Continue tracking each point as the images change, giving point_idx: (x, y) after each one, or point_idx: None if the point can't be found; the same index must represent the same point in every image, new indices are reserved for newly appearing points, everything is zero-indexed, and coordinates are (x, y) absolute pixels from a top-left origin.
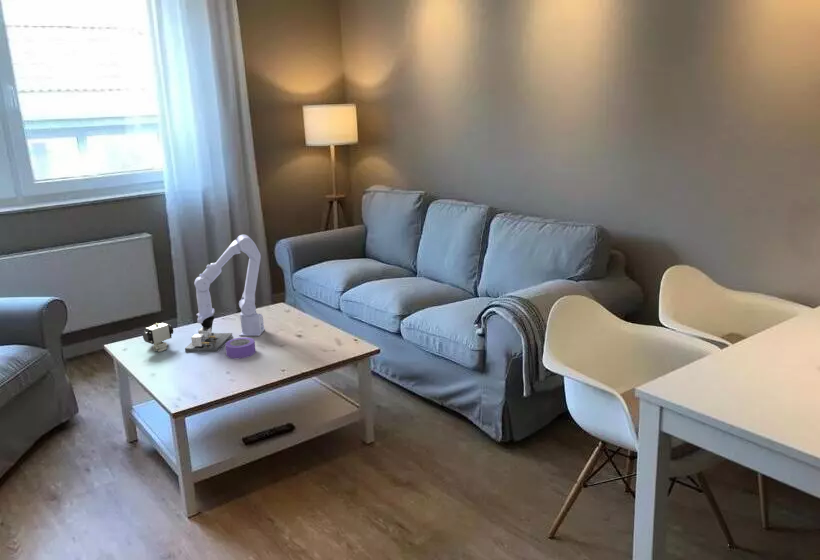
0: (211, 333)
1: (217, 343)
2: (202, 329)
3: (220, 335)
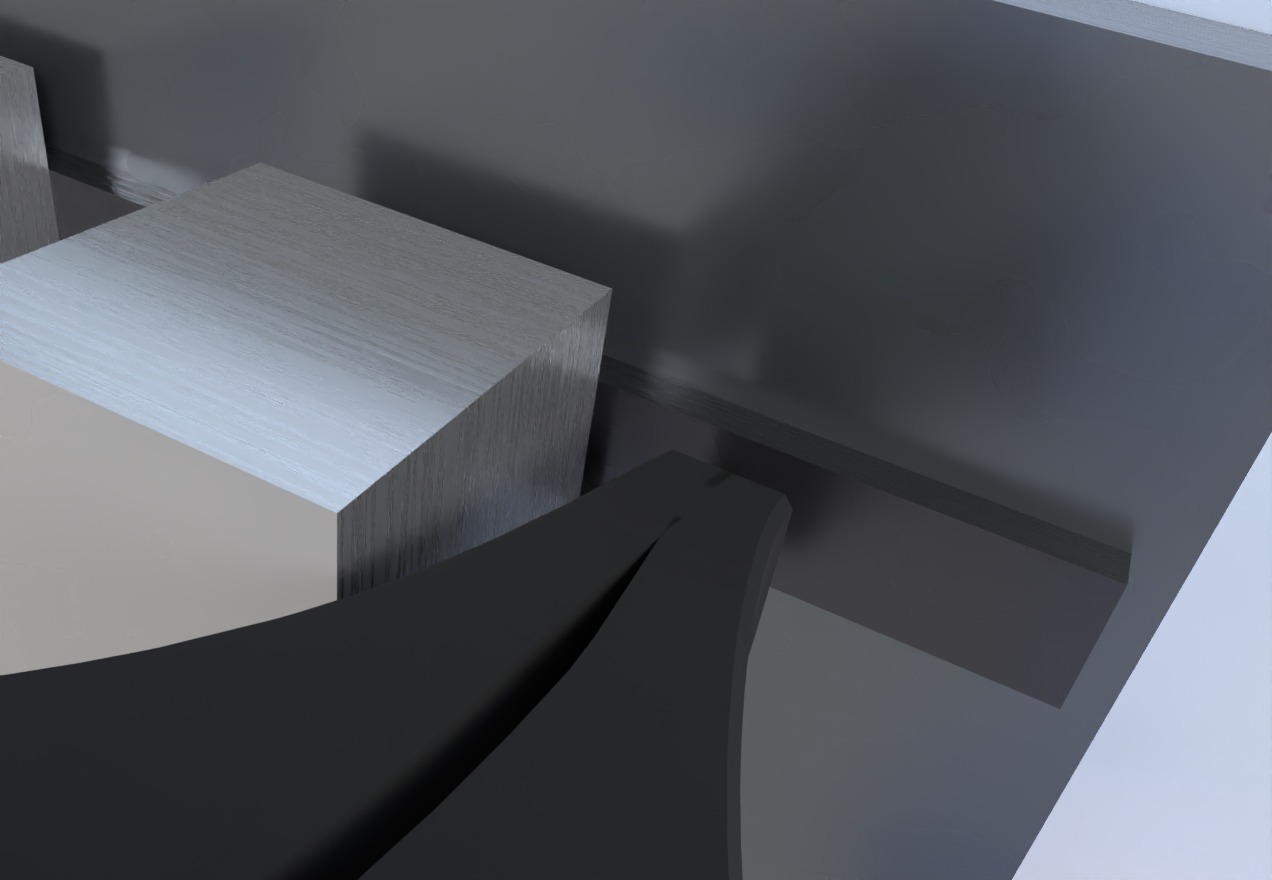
0: (976, 622)
1: None
2: (63, 525)
3: (755, 821)
